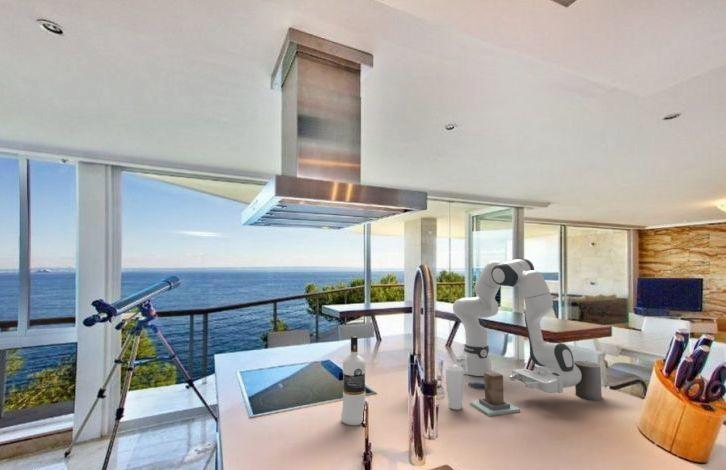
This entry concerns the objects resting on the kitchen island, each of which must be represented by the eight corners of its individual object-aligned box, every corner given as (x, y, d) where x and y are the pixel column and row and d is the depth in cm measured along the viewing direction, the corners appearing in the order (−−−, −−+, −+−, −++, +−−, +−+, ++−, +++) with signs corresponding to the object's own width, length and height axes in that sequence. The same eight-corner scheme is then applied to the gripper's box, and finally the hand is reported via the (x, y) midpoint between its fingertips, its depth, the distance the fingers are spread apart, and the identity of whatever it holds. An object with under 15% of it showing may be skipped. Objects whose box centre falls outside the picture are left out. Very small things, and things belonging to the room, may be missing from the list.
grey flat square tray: (470, 404, 147) (470, 398, 147) (499, 400, 151) (499, 394, 151) (488, 416, 135) (488, 409, 135) (519, 411, 139) (519, 404, 139)
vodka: (363, 414, 137) (363, 333, 139) (369, 425, 128) (369, 338, 130) (339, 417, 135) (339, 334, 137) (343, 427, 126) (344, 339, 128)
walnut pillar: (485, 403, 145) (484, 372, 146) (495, 402, 146) (494, 371, 147) (493, 408, 140) (492, 376, 141) (503, 406, 141) (502, 375, 142)
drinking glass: (444, 409, 142) (443, 369, 143) (449, 403, 148) (448, 365, 149) (462, 412, 139) (461, 371, 140) (466, 406, 145) (465, 367, 146)
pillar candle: (571, 395, 157) (570, 359, 158) (581, 390, 163) (580, 356, 164) (596, 402, 149) (594, 365, 150) (605, 397, 155) (604, 361, 156)
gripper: (527, 364, 161) (501, 366, 157) (565, 377, 142) (536, 381, 138) (527, 378, 161) (501, 381, 157) (566, 394, 141) (537, 398, 137)
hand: (518, 381), depth 147 cm, fingers open, 8 cm apart
